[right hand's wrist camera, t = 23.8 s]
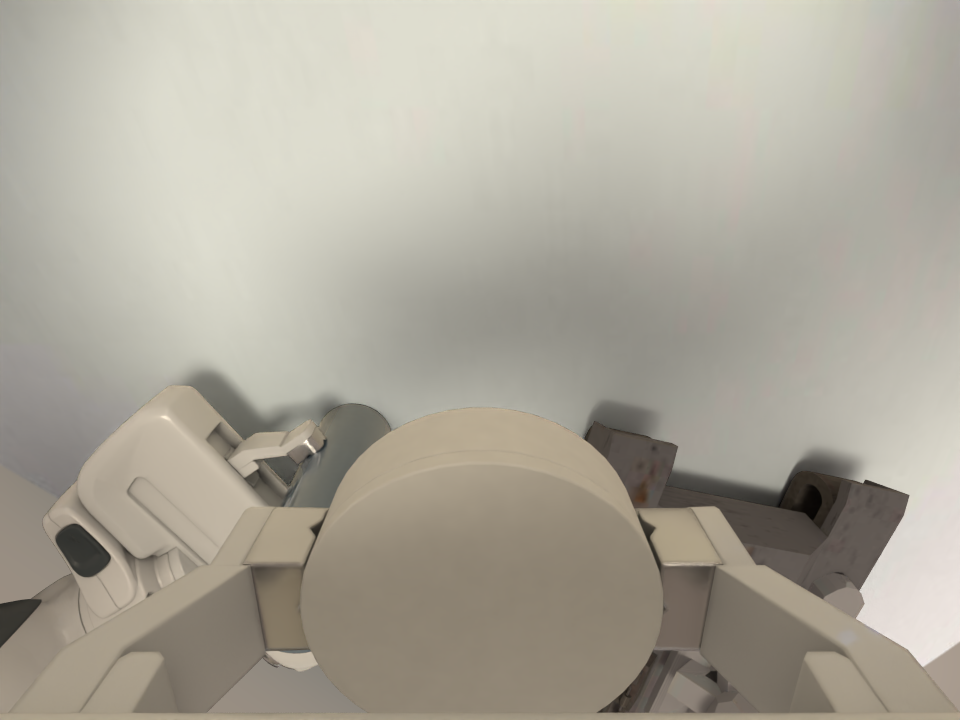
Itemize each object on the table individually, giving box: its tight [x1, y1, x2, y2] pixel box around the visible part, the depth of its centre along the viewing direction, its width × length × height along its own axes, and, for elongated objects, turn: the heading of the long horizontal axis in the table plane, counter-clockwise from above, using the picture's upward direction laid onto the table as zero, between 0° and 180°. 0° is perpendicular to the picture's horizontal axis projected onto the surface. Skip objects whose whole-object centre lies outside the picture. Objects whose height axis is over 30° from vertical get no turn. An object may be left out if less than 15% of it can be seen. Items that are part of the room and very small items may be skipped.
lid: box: [300, 407, 663, 713], centre depth 10 cm, size 6×6×2 cm
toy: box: [585, 421, 909, 713], centre depth 37 cm, size 25×20×15 cm
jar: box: [279, 404, 391, 654], centre depth 32 cm, size 5×5×16 cm
